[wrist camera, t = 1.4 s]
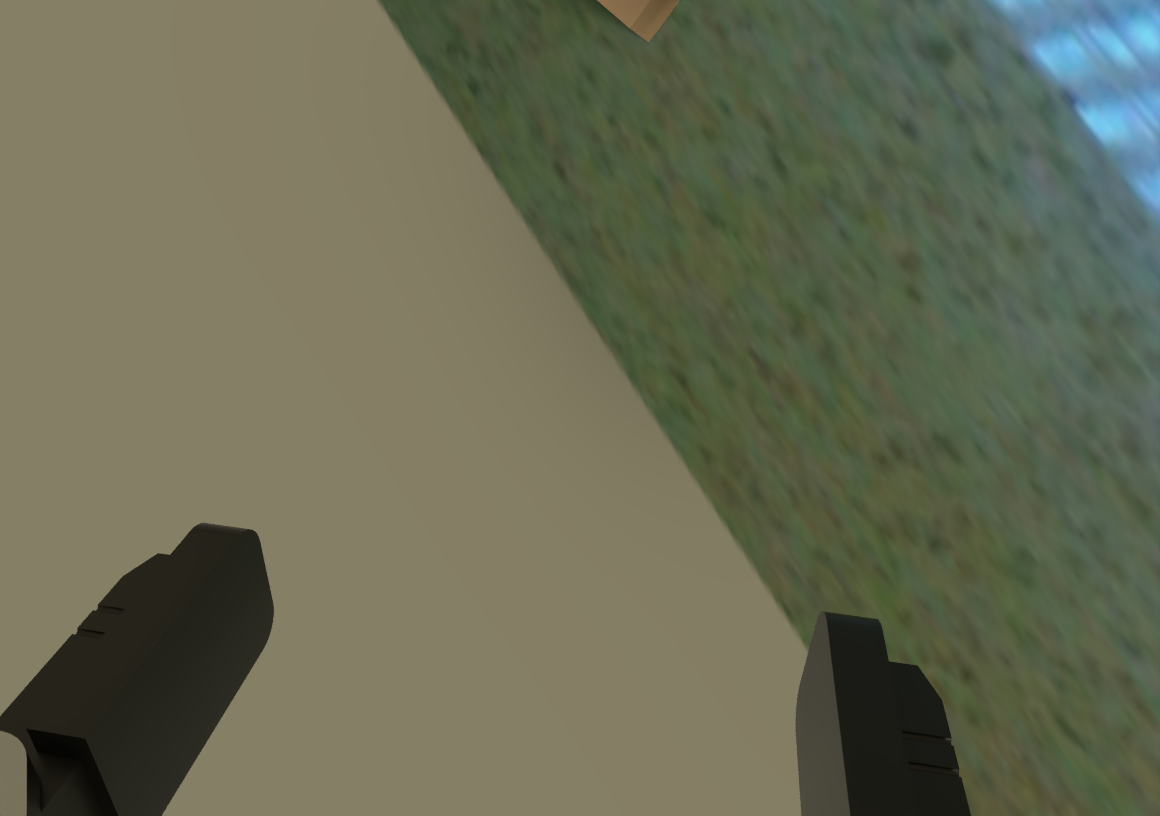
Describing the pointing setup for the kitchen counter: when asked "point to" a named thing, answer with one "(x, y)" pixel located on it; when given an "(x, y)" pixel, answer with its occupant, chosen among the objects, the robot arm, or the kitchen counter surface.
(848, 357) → the kitchen counter surface
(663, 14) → the wooden block
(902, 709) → the robot arm
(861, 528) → the kitchen counter surface
